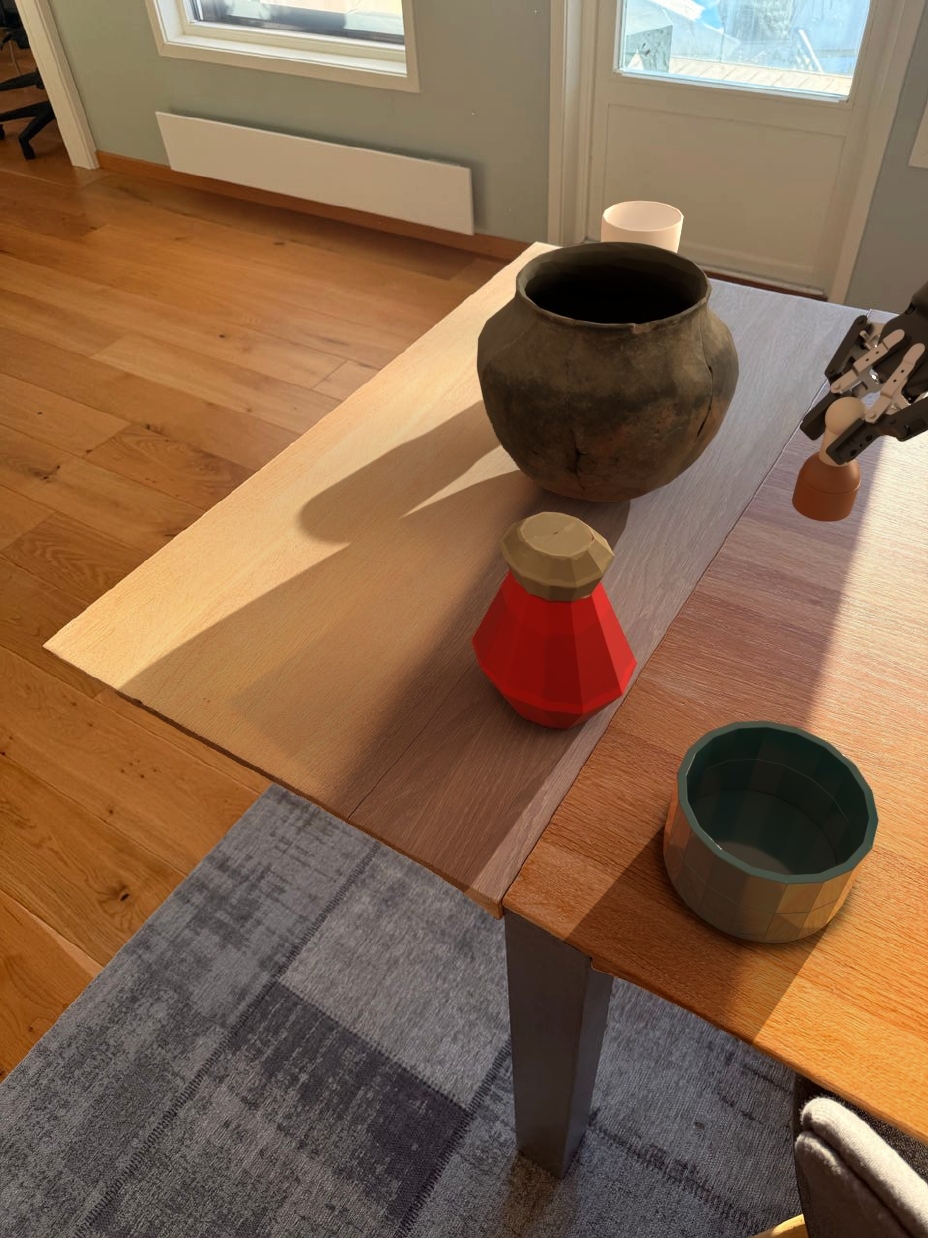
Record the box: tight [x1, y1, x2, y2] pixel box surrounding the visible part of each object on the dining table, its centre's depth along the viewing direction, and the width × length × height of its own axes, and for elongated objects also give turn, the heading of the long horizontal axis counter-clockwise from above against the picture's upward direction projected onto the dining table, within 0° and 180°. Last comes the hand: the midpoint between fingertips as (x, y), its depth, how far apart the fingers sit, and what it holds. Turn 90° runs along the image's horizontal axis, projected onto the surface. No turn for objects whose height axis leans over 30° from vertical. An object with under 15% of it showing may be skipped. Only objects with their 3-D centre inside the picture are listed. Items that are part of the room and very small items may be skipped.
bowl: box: [662, 720, 880, 944], centre depth 71 cm, size 14×15×9 cm
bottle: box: [470, 511, 638, 731], centre depth 80 cm, size 16×14×20 cm
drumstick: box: [791, 397, 869, 523], centre depth 78 cm, size 5×5×11 cm
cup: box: [600, 200, 684, 253], centre depth 133 cm, size 11×11×17 cm
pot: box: [476, 241, 740, 503], centre depth 104 cm, size 29×32×25 cm
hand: (819, 445), depth 77 cm, fingers closed on drumstick, 3 cm apart
